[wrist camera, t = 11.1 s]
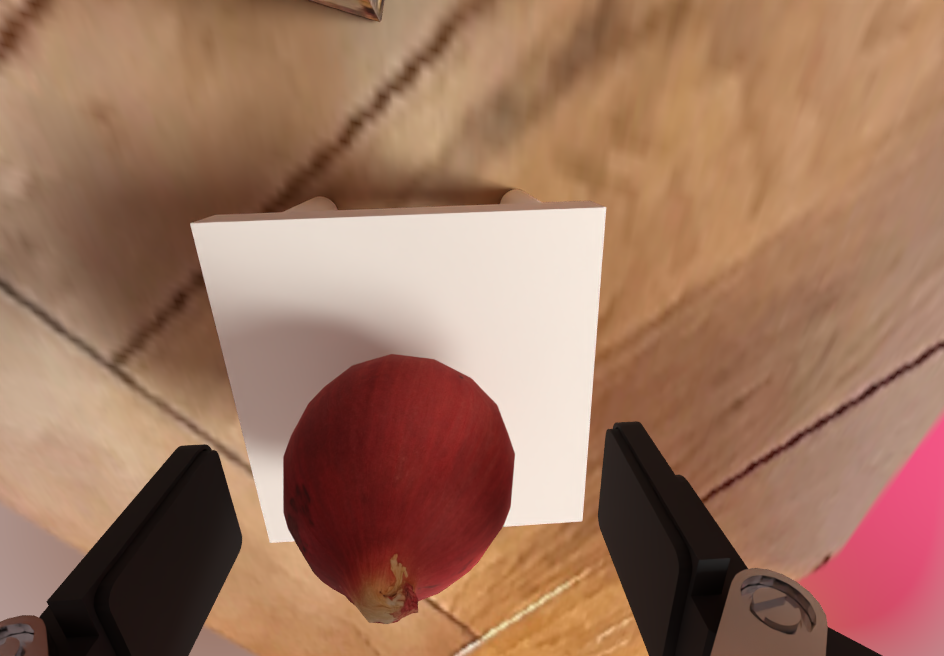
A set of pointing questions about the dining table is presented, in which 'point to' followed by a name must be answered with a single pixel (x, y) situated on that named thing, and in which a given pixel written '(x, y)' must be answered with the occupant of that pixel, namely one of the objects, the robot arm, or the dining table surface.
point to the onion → (397, 482)
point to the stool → (415, 322)
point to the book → (357, 7)
